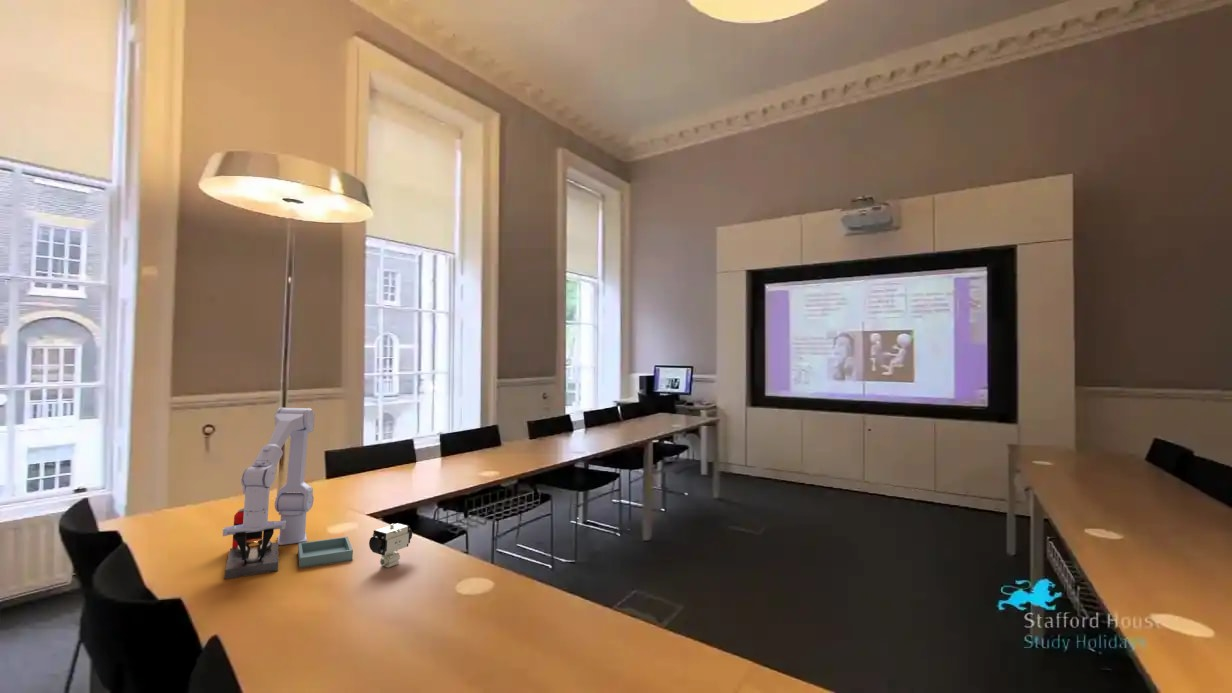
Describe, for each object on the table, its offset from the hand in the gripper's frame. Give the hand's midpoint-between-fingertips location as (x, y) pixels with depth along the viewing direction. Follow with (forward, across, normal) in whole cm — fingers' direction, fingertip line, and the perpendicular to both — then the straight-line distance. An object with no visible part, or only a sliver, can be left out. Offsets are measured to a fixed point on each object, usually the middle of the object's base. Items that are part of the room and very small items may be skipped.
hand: (253, 557), depth 146 cm
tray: (+3, +18, +2) cm, 18 cm away
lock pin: (+3, 0, 0) cm, 3 cm away
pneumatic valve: (+4, +34, -14) cm, 37 cm away
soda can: (+4, -2, +20) cm, 20 cm away
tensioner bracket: (+3, 0, +5) cm, 6 cm away
